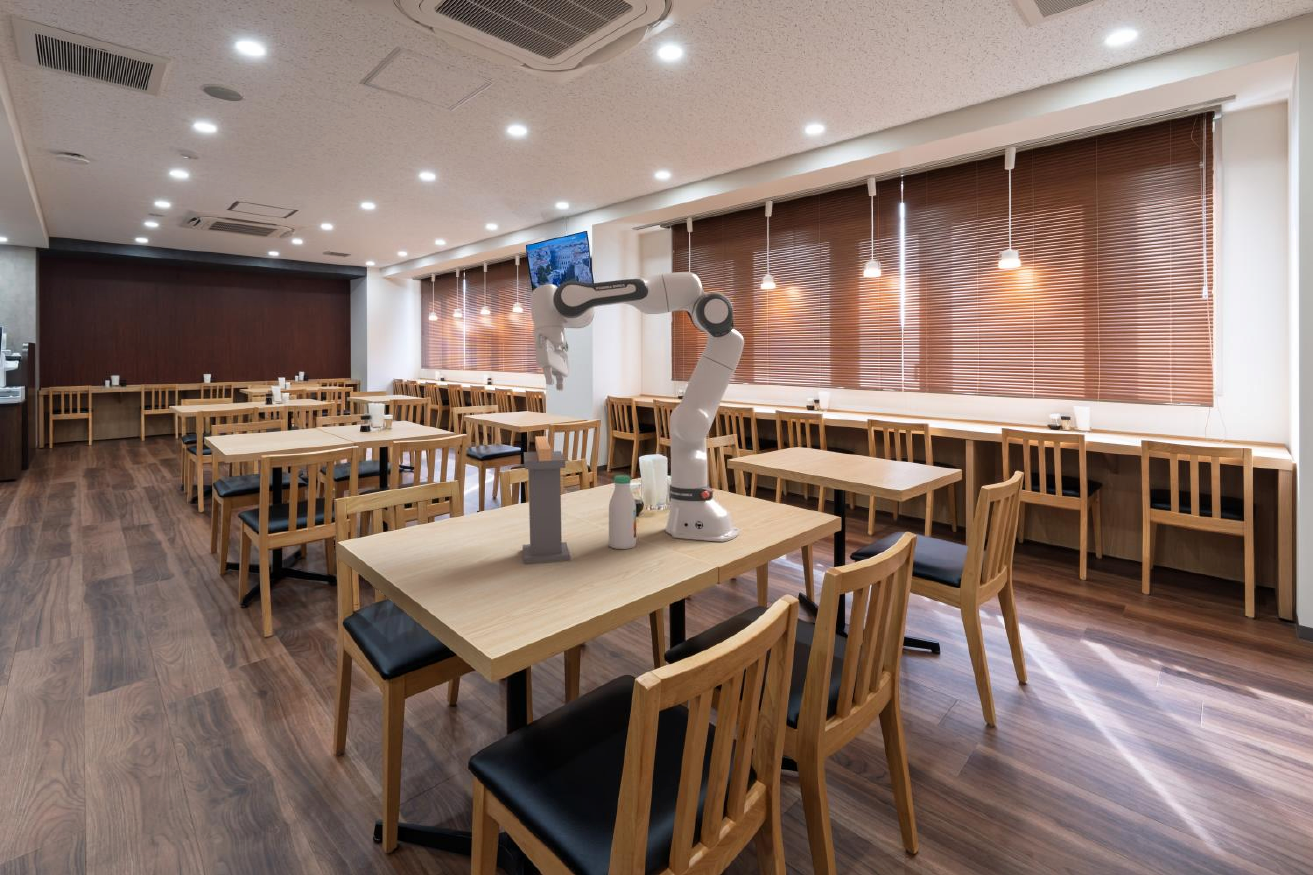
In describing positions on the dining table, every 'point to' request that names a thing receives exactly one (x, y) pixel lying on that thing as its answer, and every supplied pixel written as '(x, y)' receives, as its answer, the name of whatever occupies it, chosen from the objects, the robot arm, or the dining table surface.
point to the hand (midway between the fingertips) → (555, 387)
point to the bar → (543, 448)
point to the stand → (545, 509)
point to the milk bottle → (622, 515)
